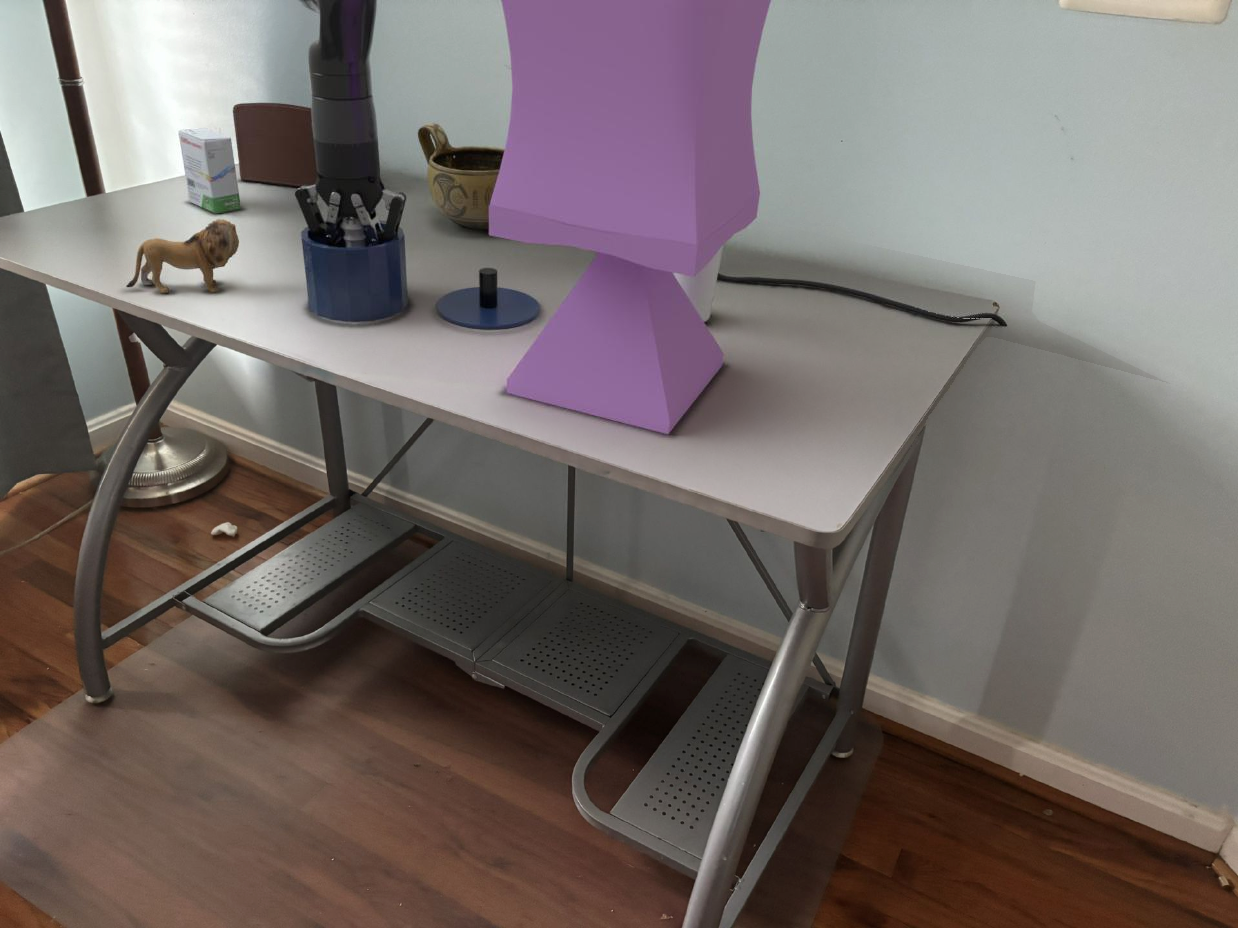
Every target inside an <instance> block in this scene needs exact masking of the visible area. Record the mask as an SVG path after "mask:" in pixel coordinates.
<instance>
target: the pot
mask: <svg viewBox="0 0 1238 928" xmlns="http://www.w3.org/2000/svg"><path fill="white" fill-rule="evenodd" d="M350 218H351V219H353V218H352V217H350ZM324 222H325V224H326V225H327V223H326V220H324ZM342 222H343V221H342ZM380 225H381V227H382V230H384V229H385V225H386V221H384V220H381V219H380ZM344 235H345V231H344V230H343V229H342V228H341V230H340V234H339V237H340V238H342V243H343V248H342V247H332V246H327V242H326V240H325V239H324V238H323V237H321V236H318V235H317V236H314V235H312V234H311V233H310V230H309V228H308V226H306V227H305V228H304V229H303V230H301V232H300V236H301V247H302V254H303V263H304V264H303V265H304V274H305V283H306V292H307V300H308V301H307V302H308V309H309V312H310V313H314V314H315V315H317V316H318V317H322V318H325V319H328V320H331V321H337V322H338V321H339V322H347V323H348V322H349V323H360V322H361V323H362V322H373V321H378V320H382V319H387V318H392V317H393V316H395V315H397V314H399V313H401V312H403V311H404V310H405V308H406V307H407V306H408V304H409V299H408V297H409V295H408V276H407V257H406V239H405V232H404V230H403V228H402V227H400V226H399V229H398V233H397V235H396V236H395V237H394V238H393V239H392V240H391V241H389V242H384V244H381V245H376V246H370V247H369V245H370V242H369V239H368V236H367V234H366V231H365V229H364V235H365V236H366V238H365V246H366V247H359V248H345V247H346V244H345V239H344V238H343V237H344Z"/></svg>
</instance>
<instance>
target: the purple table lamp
mask: <svg viewBox="0 0 1238 928" xmlns="http://www.w3.org/2000/svg"><path fill="white" fill-rule="evenodd" d="M500 1H501V6H502V11H503V15H504V21H505V27H506V34H507V42H508V48H509V56H510V70H511V89H512V90H511V101H510V114H509V115H510V116H509V124H508V129H507V134H506V135H507V136H506V140H505V141H506V142H505V146H504V148H505V151H504V155H503V159H502V163H501V167H500V171H499V175H498V178H497V181H496V185H495V188H494V192H493V195H492V199H491V202H490V206H489V229H488V236H491V237H496V238H501V239H506V240H510V241H516V242H520V243H526V244H534V245H535V244H536V245H550V246H564V247H565V246H566V247H571V248H578V249H581V250H587V251H591V252H595V257H594V258H593V260H592V261H591V262H590V264H589V265H588V267H587V268H586V270H585V271H584V272H583V274H582V275H581V276H580V278H579V279H578V281H577V282H576V284H574V286H573V287H572V289H571V291H569V293H568V294H567V296H566V297H565V298H564V300H563V301H562V303H561V304H560V305H559V307H558V308H557V310H556V311H555V313H554V314H553V315H552V316H551V318H550V319H549V321H548V322H547V323H546V324H545V326H544V327H543V329H542V330H541V331H540V333H539V334H538V336H537V337H536V339H535V340H534V341H533V343H532V344H531V346H530V347H529V348H528V349H527V351H526V352H525V354H524V355H523V356H522V358H521V360H520V361H519V362H518V364H517V365H516V366H515V368H514V369H513V370H512V372H511V373H510V375H509V376H508V377H507V379H506V393H507V394H508V395H512V396H518V397H521V398H524V399H528V400H531V401H532V400H533V401H537V402H540V403H544V404H548V405H552V406H555V407H560V408H563V409H568V410H571V411H575V412H578V413H584V414H587V415H591V416H595V417H598V418H603V419H607V420H610V421H614V422H619V423H622V424H626V425H629V426H634V427H638V428H642V429H646V430H650V431H653V432H657V433H661V434H665V435H669V434H670V433H671V431H672V430H673V429H674V427H675V426H677V424H678V423H679V421H680V420H681V419H682V418H683V416H684V415H685V414H686V412H687V411H688V410H689V408H690V407H691V406H692V405H693V404H694V402H695V401H696V400H697V398H698V397H699V396H700V395H701V394H702V392H703V391H704V390H705V388H706V387H707V385H709V383H710V382H711V380H712V379H714V377H715V375H716V374H717V373H718V372H719V371H720V369H721V368H722V367H723V362H724V354H725V353H724V351H723V350H722V348H721V346H720V345H719V344H718V342H717V340H716V339H715V337H714V336H713V334H712V333H711V331H710V330H709V328H708V326H707V324H706V323H705V322H703V320H702V318H701V317H700V315H699V314H698V312H697V311H696V309H695V307H694V306H693V304H692V303H691V301H690V300H689V298H688V296H687V295H686V293H685V292H684V290H683V289H682V287H681V285H680V284H679V282H678V281H677V279H676V278H675V276H674V274H673V273H677V274H682V275H687V276H692V277H695V276H696V275H697V274H698V273H699V272H700V271H701V270H702V269H703V268H704V267H705V266H706V265H707V264H708V263H709V262H710V261H711V259H712V258H713V257H714V256H715V254H716V253H717V252H718V250H719V249H720V248H721V247H722V245H723V244H724V245H726V243H727V242H728V241H729V240H730V239H731V238H732V237H733V236H734V235H736V234H737V233H740V232H741V231H743V230H745V229H746V228H748V226H749V225H751V224H752V223H753V222H754V221H755V220H756V219H757V217H758V212H759V211H758V210H759V205H760V204H759V202H760V196H761V190H760V183H759V177H758V169H757V164H756V156H755V145H754V136H753V122H752V104H753V103H752V99H753V98H752V97H753V84H754V77H755V71H756V65H757V59H758V54H759V50H760V45H761V40H762V36H763V31H764V27H765V23H766V20H767V17H768V12H769V10H770V9H769V8H770V5H771V2H772V0H500Z"/></svg>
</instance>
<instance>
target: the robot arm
mask: <svg viewBox="0 0 1238 928" xmlns="http://www.w3.org/2000/svg"><path fill="white" fill-rule="evenodd" d="M297 1H298V2H299V3H300V4H301V5H302V6H303V7H305V8H306V9H307V10H309V11H312V12H314V13H317V14H319V29H318V30H319V31H318V32H319V33H318V39H316V40H315V41H313V42H311V44H310V45H309V47H308V49H307V65H308V76H309V86H310V87H309V88H310V93H311V97H310V99H311V105H310V108H311V117H312V124H311V127H312V132H313V137H314V147H315V156H316V166H317V172H318V179H317V181H316V184H314V185H310V186H309V185H303V186H301V187H298V188H297V190H295V192H294V195H295V198H296V201H297V203H298V206H299V208H300V211H301V213H302V215H303V218H304V220H305V223H306V225H307V227H308V228H309V230H310V233H311V234H312V235H314V236H317V235H318V236H321V237H323V238H324V239H325V240H326V242H327V246H332V247H342V248H343V243H342V238H340V237H339V234H340V230H341V226H340V225H341V224H342V221H343V218H346V217H350V218H355V219H360V222H361V225H362V227H363V229H365V231H366V234H367V236H368V239H369V242H370V245H369V247H370V246H376V245H381V244H384V242H389V241H391V240H392V239H393V238H394V237H395V236H396V235H397V233H398V229H399V227H400V225H401V221H402V217H403V214H404V210H405V205H406V202H407V195H406V193H404V192H398V193H396V192H393V191H391V190H388V189H386V187H385V184H384V183H383V181H382V178H381V165H380V151H379V139H378V138H379V134H378V121H377V111H376V107H375V101H374V95H373V82H372V68H371V62H370V55H371V50H372V46H373V41H374V33H375V26H376V18H377V10H378V9H377V7H378V0H297ZM319 197H320V198H321V199H322V201H323V202H324V203H325V205H326V206H327V207H328V210H327V215H326V220H325V219H324V217H323V213H322V212H321V209H320V206H319V204H318V200H319ZM381 200H383V201H384V207H385V209H386V210H387V211H388V214H387V217H386V221H385V222H386V225H385V229H384V230H382V227H381V225H380V220H381V219H380V215H379V213H378V209H377V206H378V205H379V203H380V202H381ZM324 221H326V223H327V225H326V224H325V222H324ZM717 280H719V281H724V282H729V283H741V284H742V283H756V284H757V283H758V284H769V285H786V286H787V285H791V286H801V287H803V286H804V287H811V288H817V289H824V290H829V291H834V292H839V293H843V294H847V295H852V296H854V297H855V296H857V297H860V298H864V299H867V300H870V301H873V302H877V303H880V304H884V305H887V306H889V307H892V308H893V307H894V308H896V309H900V310H903V311H907V312H909V313H910V312H911V313H914V314H917V315H920V316H923V317H927V318H931V319H933V320H938V321H942V322H948V323H968V322H973V321H974V322H975V321H979V320H981V319H980V318H992V319H991V320H992V321H994V322H996V323H997V324H998V325H999V326H1000V327H1008V324H1007V322H1006V321H1005V320H1004V318H1002V317H1001V316H1000V315H997V314H995V313H992V312H982V313H976V314H971V315H965V316H964V315H963V316H953V317H951V316H952V315H946V314H942V313H938V312H933V311H930V312H928V311H929V310H926V309H923V308H920V307H917V306H913V305H910V304H907V303H903V302H899V301H896V300H893V299H890V298H886V297H883V296H879V295H876V294H872V293H869V292H865V291H861V290H857V289H853V288H849V287H845V286H841V285H835V284H830V283H824V282H819V281H813V280H806V279H805V280H804V279H795V278H794V279H793V278H792V279H791V278H773V277H760V276H730V275H725V274H722V273H719V272H718V277H717ZM915 307H916V308H915ZM922 309H923V310H922ZM936 313H937V314H936ZM945 315H946V316H945ZM957 317H959V318H957ZM963 318H970V319H963ZM971 318H975V319H971ZM976 318H979V319H976Z"/></svg>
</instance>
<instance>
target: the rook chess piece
mask: <svg viewBox="0 0 1238 928" xmlns="http://www.w3.org/2000/svg"><path fill="white" fill-rule="evenodd" d="M351 218H352V217H346V218H343V222H342V224H341V225H340V226H341V228H342V229H343V230H344V231H345V235H344V237H343V238H344V239H345V244H346V247H345V248H359V247H366V246H365V238H366V236H365V235H364V229H363V227H362V225H361V222H360V219H355V218H353V219H351Z"/></svg>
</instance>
